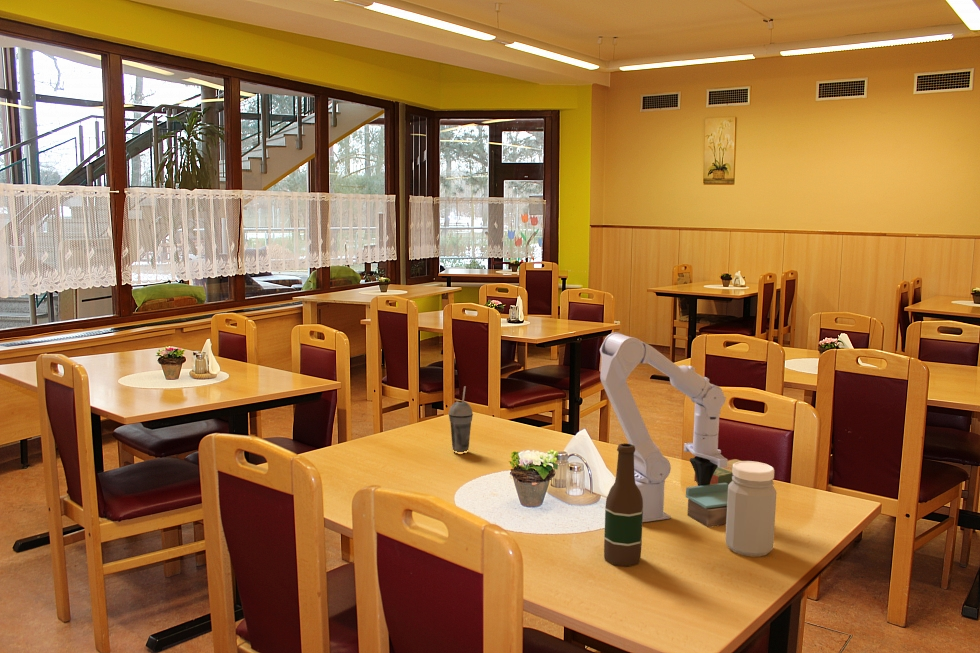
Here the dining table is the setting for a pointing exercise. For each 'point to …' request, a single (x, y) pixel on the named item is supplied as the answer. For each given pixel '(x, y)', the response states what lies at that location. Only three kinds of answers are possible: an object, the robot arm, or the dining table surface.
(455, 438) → the beverage cup
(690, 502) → the box
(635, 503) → the beer bottle
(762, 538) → the jar
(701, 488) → the lid
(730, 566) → the dining table surface
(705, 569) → the dining table surface
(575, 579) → the dining table surface
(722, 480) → the carton
